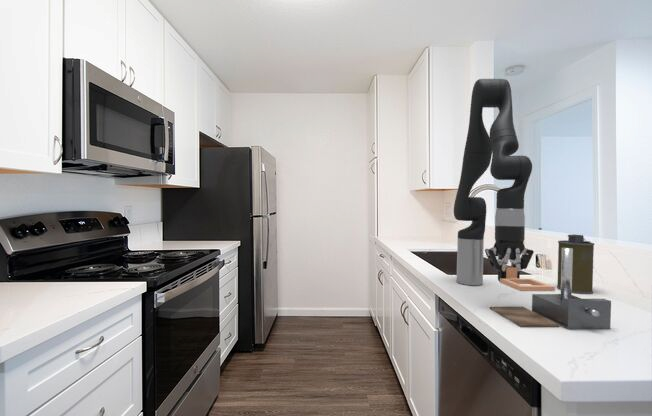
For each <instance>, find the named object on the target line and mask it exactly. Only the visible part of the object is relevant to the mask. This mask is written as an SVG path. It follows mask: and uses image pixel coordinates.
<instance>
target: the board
mask: <svg viewBox="0 0 652 416" xmlns="http://www.w3.org/2000/svg"><path fill="white" fill-rule="evenodd" d="M489 309H490V310H491V311H493V312H495V313H497V314H498V315H499V316H501V317H503V318H505V319H506V320H508V321H510V322H511V323H513V324H515V325H517V326H518V327H520V328H559V327H560V325H559V324H557V323H555V322H553V321H551V320H549V319H547V318H545V317H543V316H541V315H539V314H537V313H535V312H533V311H532V309H531V310H530V309H529V308H526V307H525V306H489Z"/></svg>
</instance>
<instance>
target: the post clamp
mask: <svg viewBox="0 0 652 416" xmlns="http://www.w3.org/2000/svg"><path fill="white" fill-rule="evenodd" d="M572 262H573V249H572V248H562V259H561V290H560V293H555V294H554V293H532V294H531V299H532V300H531V301H532V302H531V311H533V312H535V313H537V314H539V315H541V316H543V317H545V318H547V319H549V320H551V321H553V322H555V323H557V324H559V327H562V328H565V329H567V330H611V319H612V301H611V300H609V299H606V298H582V297H578V296H575V295H573V293H572Z"/></svg>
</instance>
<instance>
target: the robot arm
mask: <svg viewBox="0 0 652 416" xmlns="http://www.w3.org/2000/svg"><path fill="white" fill-rule="evenodd" d="M511 88H512V87H511V84H510V82H509V80H507V79H505V78H479V79H477V80H476V81H475V82H474V84H473V87H472V92H471V96H470V97H471V99H470V110H469V112H470V113H469V122H468V129H467V135H466V140H465V145H464V150H463V156H462V157H463V158H462V165H461V171H460V178H459V182H458V183H459V184H458V188H457V192H456V196H455V200H454V205H453V216H454V219H455V220H456V221H459V222H460V221H462V222H471V224H470V225H468V226H467V227H465V228H462V229H459V230H458V231H457V251H456V253H457V254H456V256H457V257H456V282H457V283H458V284H461V285H465V286H476V287H477V286H482V285H483V284H484V253H485V255H486V257H487V260H488V263H489V265H490V267H491V268H493V269H496V270H497V280H498V282H499V283H500V279H506V271H505V270H506V266H508V264H509V262H510V266H514V267H517V278H519V279H521V278H520V277H521V276H520V274H521V273H520V272H521V271H522V270H526V269H527V268H528V266H529V263H530V261H531V259H532V257H533V255H534V252H535V251H534V250H532V249H528V248H526V247H525V244H524V241H525V232H526V231H525V230H526V229H525V227H526V226H525V224H526V223H525V221H526V215H525V193H526V189H527V186H528V182H529V179H530V177H531V175H532V171H533V163H532V161H531V159H530V157H528V156H527V155H514V154H515V153H517V152H518V150H519V146H520V144H519V141H518V136H517V133H516V129H515V125H514V116H513V112H514V110H513V98H512V89H511ZM484 108H489V109H490V108H492V109H494V108H497V109H498V111H499V113H498V114H497V116H496V118H495V119H494V120H493V122H492V124H491V126H490V128H489V133H488V131H487V129H486V126H485V124H484V121H483V119H484V118H483V111H484V110H483V109H484ZM489 167H490V168H489ZM488 169H489V171H490V175H491V176H492V178H493V179H495V180H498V181H514V182H513V184H512V185H511V186H509V187H503V188H500V189H498V190H497V191H496V198H495V199H496V203H495V204H496V208H495V209H496V211H495V216H494V220H495V221H494V240H495V243H494V244H493V247H490V248H485V249H484V247H485V246H484V244H485V243H484V239H485V232H486V222H487V221H486V220H487V202H486V200H485V199H484V198H483V197H480V196H478V197H477V196H470V193H471V191H472V190H473V187H474V185H475V184H476V182H477V181H478V180H479V179H480V178H481V177H482V176H483V175H484V173H486V171H487V170H488ZM484 251H485V252H484ZM496 255H497V256H496Z"/></svg>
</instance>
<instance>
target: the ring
mask: <svg viewBox="0 0 652 416" xmlns="http://www.w3.org/2000/svg"><path fill="white" fill-rule="evenodd" d="M505 271H506V279H500V282H499V283H500V284H502V285H504V286H506V287H508V288H512V289H514V290H517V291H519V292H555V291H556V287H555V286H554V285H551V284H548V283H545V282H542V281H539V280H536V279H533V278H520V279H519V278H517V267H514V266H511V265H507V266H506V270H505Z"/></svg>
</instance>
